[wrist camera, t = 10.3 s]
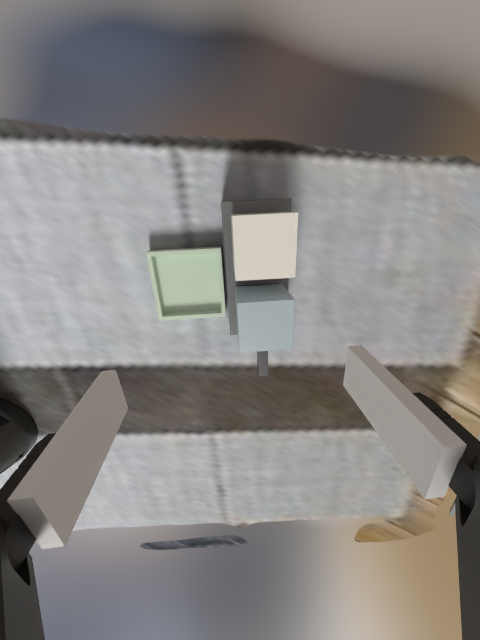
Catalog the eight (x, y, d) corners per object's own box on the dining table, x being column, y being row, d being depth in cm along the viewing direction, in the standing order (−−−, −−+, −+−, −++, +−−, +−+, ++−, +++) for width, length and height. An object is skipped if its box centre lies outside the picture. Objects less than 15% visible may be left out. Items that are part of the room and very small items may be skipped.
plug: (229, 213, 32) (232, 215, 22) (275, 211, 32) (298, 212, 22) (232, 260, 35) (235, 281, 25) (274, 257, 35) (295, 277, 25)
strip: (231, 342, 41) (233, 390, 30) (221, 202, 33) (219, 199, 22) (278, 339, 41) (298, 385, 30) (281, 199, 33) (310, 195, 22)
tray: (161, 316, 39) (159, 320, 37) (149, 250, 34) (145, 252, 33) (225, 311, 39) (225, 316, 37) (221, 246, 35) (220, 248, 33)
